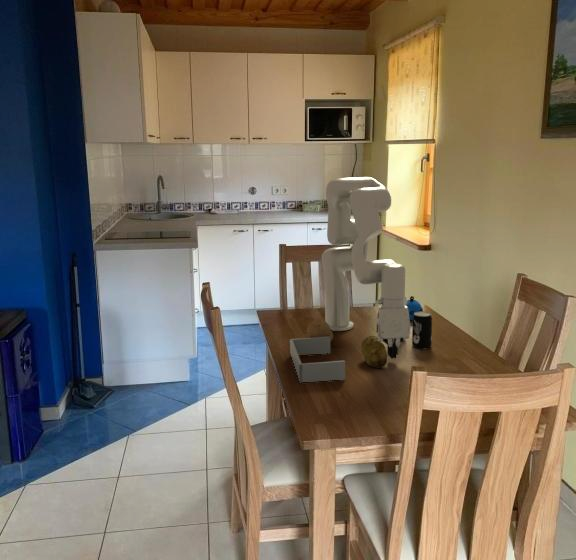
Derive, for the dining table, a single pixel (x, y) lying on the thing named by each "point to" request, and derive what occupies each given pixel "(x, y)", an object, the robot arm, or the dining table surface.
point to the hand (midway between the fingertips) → (392, 356)
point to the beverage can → (422, 330)
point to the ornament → (413, 307)
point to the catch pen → (319, 369)
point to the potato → (374, 352)
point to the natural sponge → (319, 329)
